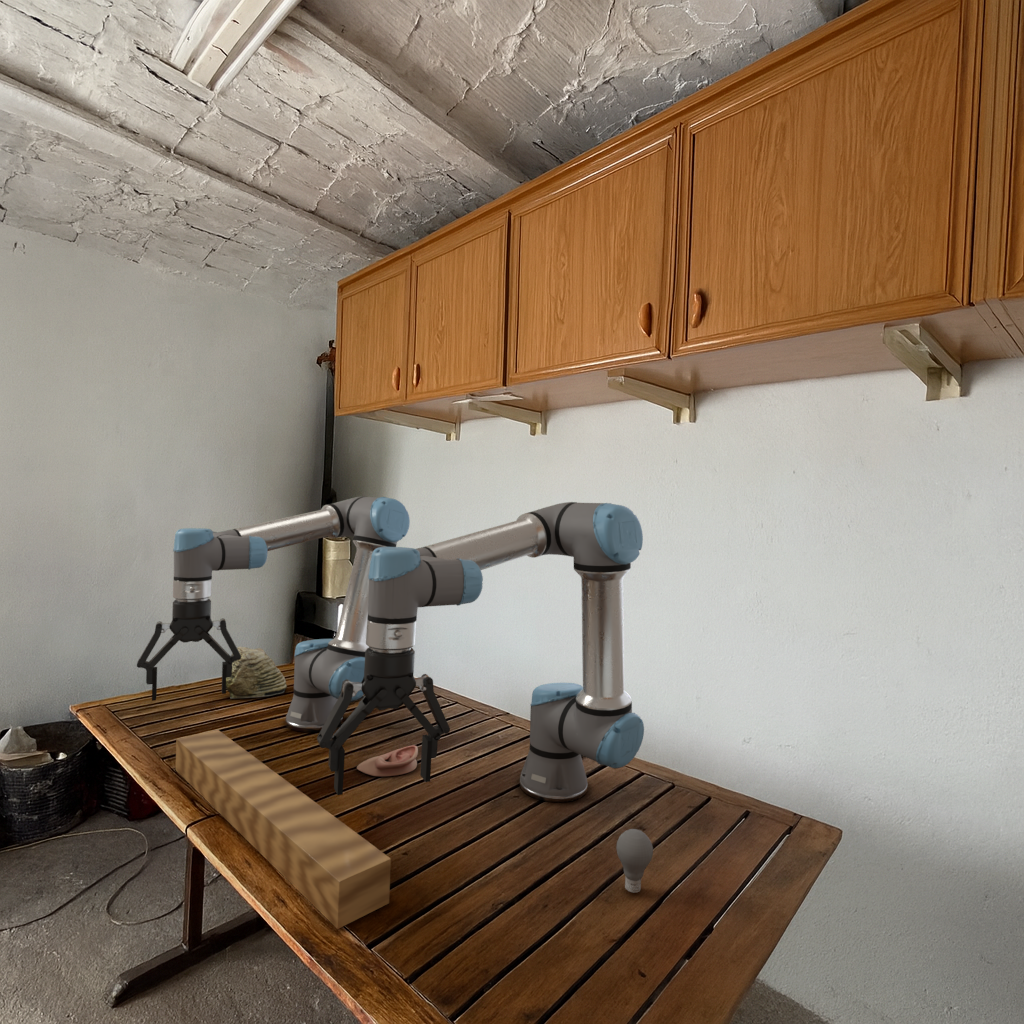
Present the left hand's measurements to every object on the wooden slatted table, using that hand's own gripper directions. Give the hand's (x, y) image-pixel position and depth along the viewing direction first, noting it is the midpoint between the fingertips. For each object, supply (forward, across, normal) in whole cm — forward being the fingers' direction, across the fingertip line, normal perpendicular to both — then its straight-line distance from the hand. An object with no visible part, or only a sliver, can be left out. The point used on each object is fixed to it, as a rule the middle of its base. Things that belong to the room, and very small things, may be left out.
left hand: (189, 695), depth 139 cm
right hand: (-1, +27, -60) cm, 65 cm away
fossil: (+19, +18, +56) cm, 62 cm away
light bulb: (+19, +66, -72) cm, 100 cm away
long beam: (+18, +13, -27) cm, 35 cm away
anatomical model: (+19, +42, -10) cm, 47 cm away
